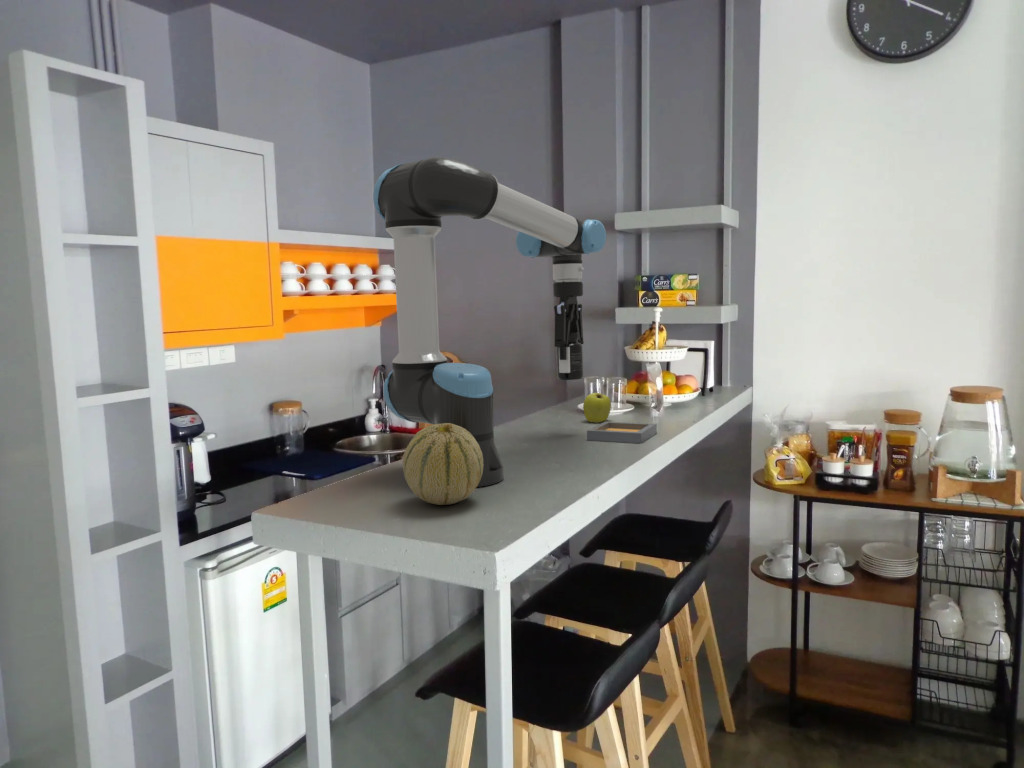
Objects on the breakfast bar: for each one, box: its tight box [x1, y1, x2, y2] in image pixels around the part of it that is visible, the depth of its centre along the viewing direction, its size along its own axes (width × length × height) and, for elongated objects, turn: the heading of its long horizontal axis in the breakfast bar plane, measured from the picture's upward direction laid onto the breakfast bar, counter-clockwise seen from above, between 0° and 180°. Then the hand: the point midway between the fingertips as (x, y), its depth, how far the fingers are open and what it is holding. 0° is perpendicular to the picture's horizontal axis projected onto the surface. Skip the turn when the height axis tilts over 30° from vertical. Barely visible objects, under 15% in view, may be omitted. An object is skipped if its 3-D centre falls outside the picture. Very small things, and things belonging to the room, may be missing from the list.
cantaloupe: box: [402, 423, 484, 506], centre depth 137 cm, size 15×15×15 cm
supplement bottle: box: [555, 332, 584, 381], centre depth 195 cm, size 7×7×12 cm
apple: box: [582, 388, 612, 424], centre depth 217 cm, size 8×8×10 cm
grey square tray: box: [586, 420, 658, 444], centre depth 194 cm, size 14×14×2 cm
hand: (570, 370), depth 196 cm, fingers closed on supplement bottle, 7 cm apart
